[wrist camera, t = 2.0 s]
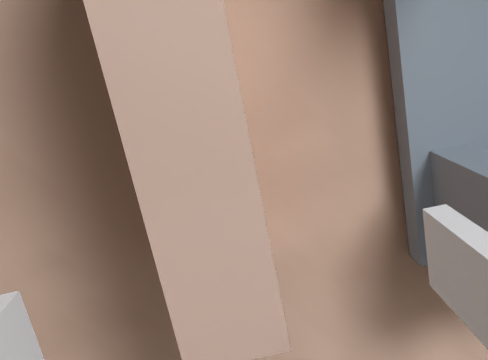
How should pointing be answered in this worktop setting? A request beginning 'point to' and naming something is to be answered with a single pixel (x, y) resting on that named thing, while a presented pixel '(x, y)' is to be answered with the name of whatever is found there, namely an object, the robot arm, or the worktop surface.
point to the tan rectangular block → (193, 172)
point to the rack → (440, 108)
